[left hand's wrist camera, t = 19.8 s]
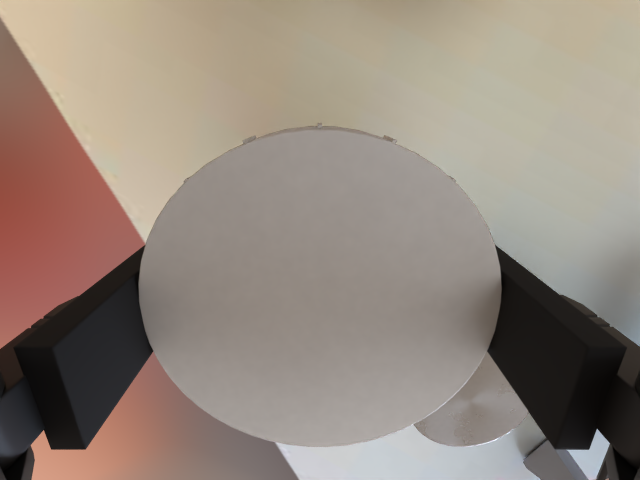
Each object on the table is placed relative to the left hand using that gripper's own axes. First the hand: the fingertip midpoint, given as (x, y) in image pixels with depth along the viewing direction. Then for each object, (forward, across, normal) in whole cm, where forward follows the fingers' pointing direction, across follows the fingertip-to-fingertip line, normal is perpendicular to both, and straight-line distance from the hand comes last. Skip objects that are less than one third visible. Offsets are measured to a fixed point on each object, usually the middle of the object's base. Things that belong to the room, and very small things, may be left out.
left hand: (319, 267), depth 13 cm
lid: (-3, 0, 0) cm, 3 cm away
